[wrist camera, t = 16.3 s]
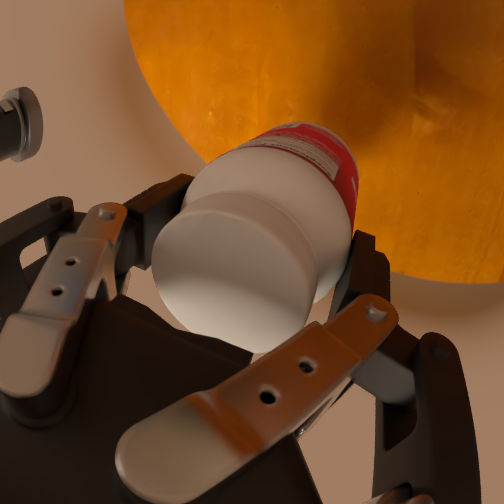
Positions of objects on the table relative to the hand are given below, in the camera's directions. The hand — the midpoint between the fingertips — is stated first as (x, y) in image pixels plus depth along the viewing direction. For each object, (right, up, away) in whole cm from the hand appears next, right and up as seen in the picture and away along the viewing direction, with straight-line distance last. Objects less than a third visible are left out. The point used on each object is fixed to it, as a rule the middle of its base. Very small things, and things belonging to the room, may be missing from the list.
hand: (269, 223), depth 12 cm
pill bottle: (+2, +3, +5) cm, 7 cm away
